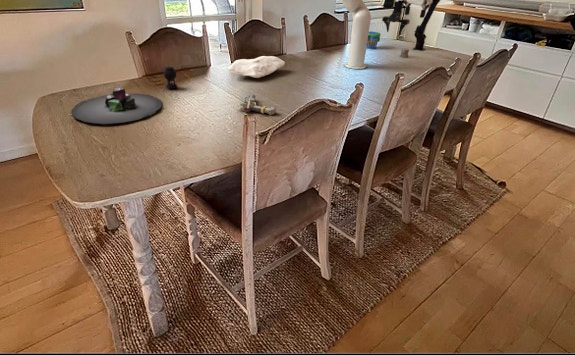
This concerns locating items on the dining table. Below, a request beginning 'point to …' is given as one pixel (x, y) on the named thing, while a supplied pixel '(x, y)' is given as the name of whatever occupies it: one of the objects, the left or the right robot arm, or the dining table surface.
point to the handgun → (255, 106)
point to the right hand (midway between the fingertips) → (393, 33)
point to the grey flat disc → (116, 108)
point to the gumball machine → (170, 77)
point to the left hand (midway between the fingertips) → (414, 16)
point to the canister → (404, 52)
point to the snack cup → (373, 39)
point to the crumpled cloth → (256, 66)
